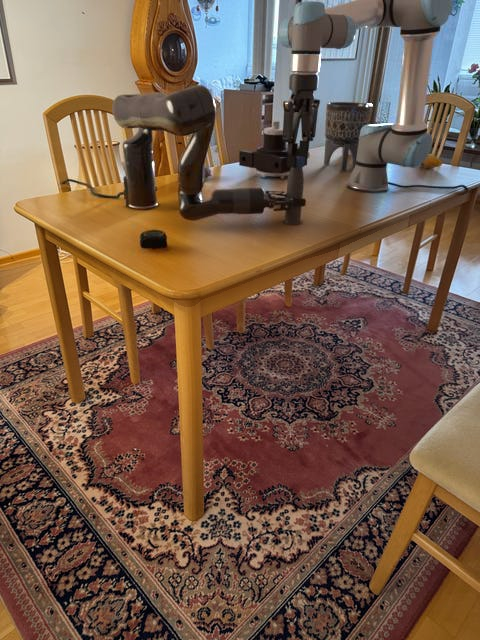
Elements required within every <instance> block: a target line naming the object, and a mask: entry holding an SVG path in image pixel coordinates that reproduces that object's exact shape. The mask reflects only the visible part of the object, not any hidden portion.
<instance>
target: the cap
mask: <svg viewBox="0 0 480 640" xmlns="http://www.w3.org/2000/svg"><path fill="white" fill-rule="evenodd" d="M305 160H306V159H305V157H303V156H297V161H296V167H303V168H304V167H305Z"/></svg>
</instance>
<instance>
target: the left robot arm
mask: <svg viewBox="0 0 480 640" xmlns="http://www.w3.org/2000/svg"><path fill="white" fill-rule="evenodd" d="M216 107H217V106H216V102H215V99H214V96H213V94H212V93H211V91H210V90H209V88H208V87H207V86H205V85H204V84H203V85H202V84H196V85H193V86H189V87H186V88H183V89H180V90H177V91H175V92H172V93H169V94H165V93H163V92H159V91H153V92H152V91H151V92H146V93H138V94H134V93H133V94H132V93H131V94H119V95H117V96H116V97H115V98H114V99H113V102H112V116H113V117H114V121H115V123H116V124H117V125H118V126H119V127H120V128H122V129H138V130H137V132H136V133H135V134H134V135H133V136H132V137H130V138H128V139H126V140H123V142H122V154H123V164H124V172H125V175H124V176H123V179H122V180H123V188H124V189H123V191H120V192H118V193H117V194H116V195H107V194H102V193H97V192H95V190H94V187H92V185H90V184H88V183H86V182H82V181H79V180H76V179H72V178H66V179H67V180H66V179H65V180H66V181H64V180H63V181H62V182H61V184H62V185H64V184H66V183H68V182H71V183H75V184H78V185H82V186H85V187H87V188H88V189H90V193H91V194H92V195H93V196H96V197H100V198H103V199H104V198H106V199H118V198H120V197H121V196H123V199H124V200H125V206H126V207H128V208H130V209H134V210H150V209H153V208H156V207H158V199H157V192H158V187H157V186H156V185H157V184H156V172H155V159H154V133H153V131H154V132H166V133H168V134H171V135H173V136H177V137H187V136H190V135H191V136H190V138H189V140H188V142H187V144H186V146H185V147H184V149H183V151H182V153H181V155H180V158H179V161H178V164H177V183H178V187H177V188H178V189H177V192H178V193H177V195H178V196H177V198H178V210H179V215H180V216H181V218H182V219H184V220H186V221H190V222H196V221H200V220H202V219H206V218H209V217H213V216H217V215H230V214H232V215H262V214H263V213H264V212H265V208H266V209H267V208H269V209H270V210H273V212H281V211H285V210H292V208H293V207H302V208H303V207H306V203H307V201H306V198H303V197H302V198H300V199H292V198H286V195H287V192H286V191H284V190H265V191H264V188H263V187H237V188H219V189H214V190H213V191H211V193H210V199H208V200H205V201H204V198H203V189H204V185H205V178H204V170H205V166H206V160H207V155H208V153H209V152H208V151H209V149H210V144H211V141H212V137H213V132H214V128H215V124H216V119H217V108H216ZM287 203H289V205H286V204H287Z"/></svg>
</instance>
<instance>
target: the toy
mask: <svg viewBox="0 0 480 640" xmlns="http://www.w3.org/2000/svg"><path fill="white" fill-rule="evenodd" d="M442 165H443V161H442V160H440V159H438V157H437V156H436V155H434V154H430V153H429V155H428V156H427V158H426V159H425V161H424V162H423V163H422V164H421V165H420V166H421V167H425V168H426V169H428V170H430V169H435V168H438V167H441V166H442Z"/></svg>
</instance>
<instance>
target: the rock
mask: <svg viewBox="0 0 480 640" xmlns="http://www.w3.org/2000/svg"><path fill="white" fill-rule="evenodd" d="M212 176H213V175H212V170H211V169H210V168H209V167H208V166H207V165H205V170H204V179H208V178H209V177H210V178H211V177H212Z"/></svg>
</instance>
